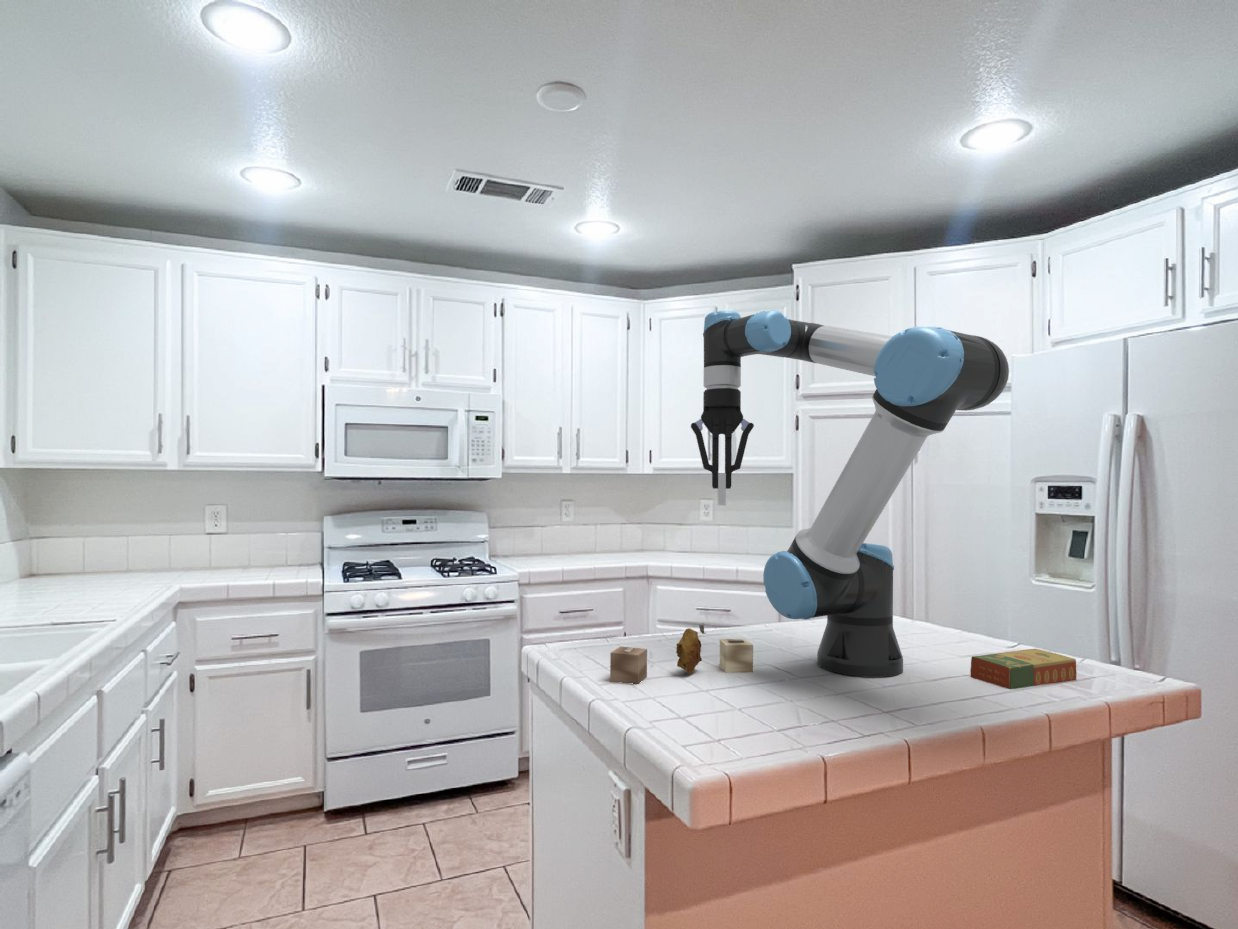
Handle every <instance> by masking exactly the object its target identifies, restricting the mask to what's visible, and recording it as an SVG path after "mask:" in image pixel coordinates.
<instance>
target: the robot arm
mask: <svg viewBox="0 0 1238 929" xmlns="http://www.w3.org/2000/svg"><path fill="white" fill-rule="evenodd" d="M703 324H704V325H703V332H702V336H703V388H704V391H703V407H702V408H703V412H702V413H701V416H700V418H699V419H698V420H696V421H695V422H692V423H691V424H690V429H691V431H693V433H694V435H695V438H696V442H697V447H698V450H699V453H700V459H701V463H702V467H703V469H704V470H706V471H709V472H710V473H711V487H712V489H717V505H718V506H726V504H727V502H726V500H727V499H726V498H727V493H726V491H727V490H728V489H730V490H731V487H732V474H733V472H735V471H737V470H740V469H741V467H742V463H743V459H744V454H745V450H746V447H747V441H748V440H749V439H748V438H749V435H750V434H751V432H752V430H753V428H754V426H755V425H754V423H752V422H749V421H748V420H746V419H745V418H744V415H743V413H742V410H741V409H742V407H741V403H742V401H741V398H742V394H741V393H742V391H741V390H740V389H739V388H741V386H742V380H741V378H742V377H741V376H742V371H741V370H742V362H741V360H742V359H741V358H743V357H747V356H754V355H763V356H770V357H777V358H785V359H793V360H798V361H799V360H800V361H803V362H808V363H813V364H819V365H823V366H828V367H831V368H832V367H833V368H837V369H841V370H845V371H849V372H854V373H858V374H863V375H866V376H867V375H868V376H873V377H874V378H873V382H874V385H875V391H874V393H873V394H872V396H871V398H872V401H873V405H874V407H875V411H874V414H873V415H872V417H871V418H870V421H869V422H868V424H867V426H866V428H865V429H864V431H863V433H862V434H861V436H860V438H859V441H858V442H857V443H856V444H855V445H856V446H855V447H854V449H853V451H852V452H851V454H850V457H849V459H848V460H847V462H846V464H845V466H844V467H843V469H842V471H841V472H840V475H839V476H838V478H837V480H836V481H835V483H834V486H833V487H832V488H831V490H830V492H829V493H828V496H827V498H826V500H825V502H824V503H823V505H822V507H821V508H820V510H819V512H818V514H817V516H816V518H815V519H814V520H813V523H812V525H811V527H809V528H804V529H800V530H799V531H798V532H797V533H796V534H795V537H794V539H793V541H792V542H791V543H790V545H789V548H788V549H787V550H781V551H778V552H776V553H774V554H772V555H771V556H770V557H769V558H768V559H767V561H766V562H765V565H764V568H763V575H762V576H763V579H762V580H763V585H764V588H765V591H764V592H765V594H766V597H767V599H768V601H769V603H770V604H771V606H772V607H773V609H774V610H775V611H776V612H777V613H778V614H780V615H781V616H783V617H785V618H787V619H791V620H810V619H814V618H821V617H826V621H827V622H826V626H825V629H824V631H823V634H822V636H821V637H822V638H821V640H820V644H819V646H818V649H817V656H816V657H817V661H816V662H817V666H819V667H821V668H822V669H824V670H826V671H829V672H833V673H837V674H842V675H848V676H855V677H867V678H869V677H871V678H877V677H879V678H881V677H882V678H883V677H891V676H892V677H893V676H897V675H899V674H902V673H903V671H904V658H903V654H902V651H901V647H900V644H899V642H898V638H897V636H896V633H895V629H894V570H895V565H894V561H893V560H894V559H893V558H894V557H893V552H892V550H891V549H890V547H888V546H886V545H882V544H873V543H866V542H865V541H866V539H867V537H868V536H869V534H870V532H871V531H872V529H873V527H874V526H875V524H876V523H877V520H878V519H879V518H880V516H881V514H882V512H883V510H884V509H885V507H886V506H887V504H888V502H889V501H890V499H891V498H892V496H893V494H895V491H896V490H897V488H898V486H899V484H900V482H901V481H902V479H903V477H905V475H906V472H908V469H909V468H910V466H911V465H912V463H913V461H914V459H915V457H916V456H917V454H918V453H919V451H920V449H921V448H922V447H923V445H924V444H925V442H926V440H927V438H928V437H929V436H932V435H936V434H939V433H943V432H944V431H945V429H946V427H947V426H948V424H949V422H950V421H951V419H952V418H953V416H954V414H955V413H956V411H974V410H978V409H981V408H984V407H985V406H988V405H989V404H991V403H993V402H994V401H995V400H996V399H997V398H998V397H1000V395H1001V394H1002V393H1003V391H1004V389H1005V388H1006V386H1007V383H1008V381H1009V374H1010V368H1009V362H1008V359H1007V356H1006V355H1005V353H1004V351H1003V350H1002V349H1001V347H1000V346H998V345H997V344H996V343H994V342H993V341H991V340H990V339H989V338H986V337H982V336H978V335H974V334H972V335H971V334H967V333H963V332H958V331H954V330H949V329H945V328H944V327H938V326H915V327H914V326H912V327H909V328H907V329H903V330H902V331H899V332H897V333H896V334H894V335H892V336H891V335H887V334H881V333H874V332H868V331H861V330H855V329H849V328H844V327H843V328H842V327H837V326H831V325H823V324H820V323H814V322H807V321H801V320H794V319H791V318H790V319H789V318H788V317H786V316H785V315H784V314H783V313H782V312H781V311H779V310H767V311H765V310H763V311H759V312H755V313H754V314H751V315H747V316H741V314H740V313H738V312H737V311H733V310H718V311H712V312H709V313H707V314H706V316H704V323H703ZM740 424H741V427H740V429H741V431H742V433H741V435H740V440H739V444H738V447H737V452H736V456H735V460H734V463H733V464H732V460H733V458H732V454H733V453H732V442H733V441H732V437H733V434H734V433H735V431H736V430H737V429H738V427H739V425H740ZM703 425H704V426H705V428H706V429H707V430H708V432H709V433H710V434H711V438H712V440H711V441H712V442H711V443H712V446H711V448H712V450H711V453H712V454H711V455H712V456H711V464H710V463H709V458H708V454H707V450H706V446H705V442H704V441H705V440H704V437H703V434H702V431H703ZM720 435H724V472H719V469H720V468H719V467H720V466H719V464H720V463H719V462H720V461H719V458H720V457H719V456H720V453H719V448H720V443H719V442H720ZM864 542H865V543H864Z"/></svg>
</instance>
